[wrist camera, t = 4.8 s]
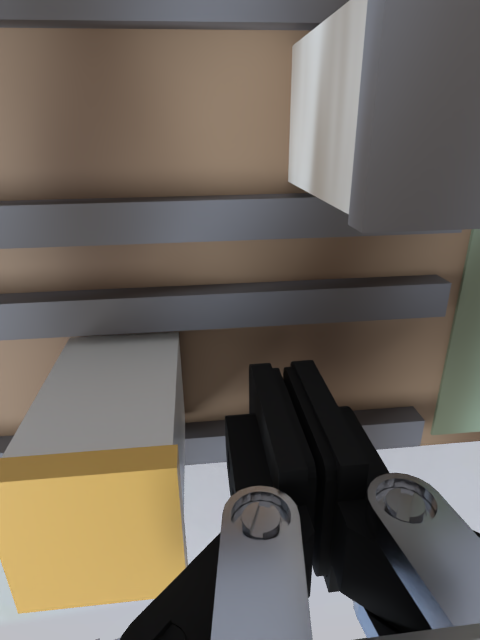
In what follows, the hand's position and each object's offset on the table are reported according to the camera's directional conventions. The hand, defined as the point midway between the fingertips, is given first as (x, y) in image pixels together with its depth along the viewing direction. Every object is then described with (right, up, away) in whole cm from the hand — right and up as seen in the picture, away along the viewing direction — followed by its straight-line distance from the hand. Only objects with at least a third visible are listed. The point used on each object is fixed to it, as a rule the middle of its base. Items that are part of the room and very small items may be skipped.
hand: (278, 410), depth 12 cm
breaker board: (-4, +5, +2) cm, 7 cm away
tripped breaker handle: (-4, +1, +1) cm, 4 cm away
